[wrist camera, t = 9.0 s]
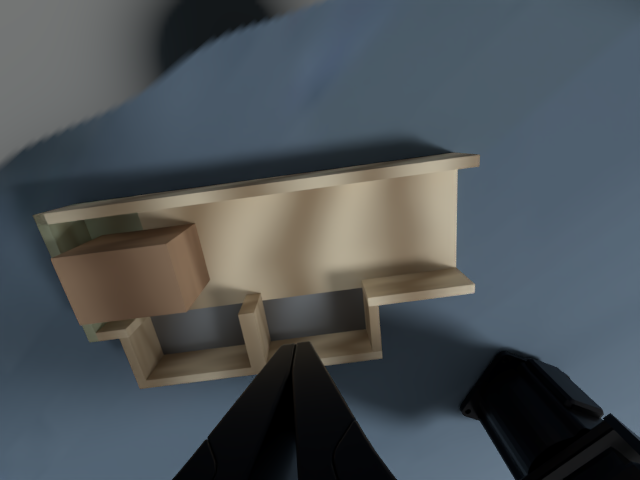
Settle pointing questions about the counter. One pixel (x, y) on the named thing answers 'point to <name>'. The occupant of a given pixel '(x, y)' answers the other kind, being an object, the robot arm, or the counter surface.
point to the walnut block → (133, 274)
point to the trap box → (284, 263)
